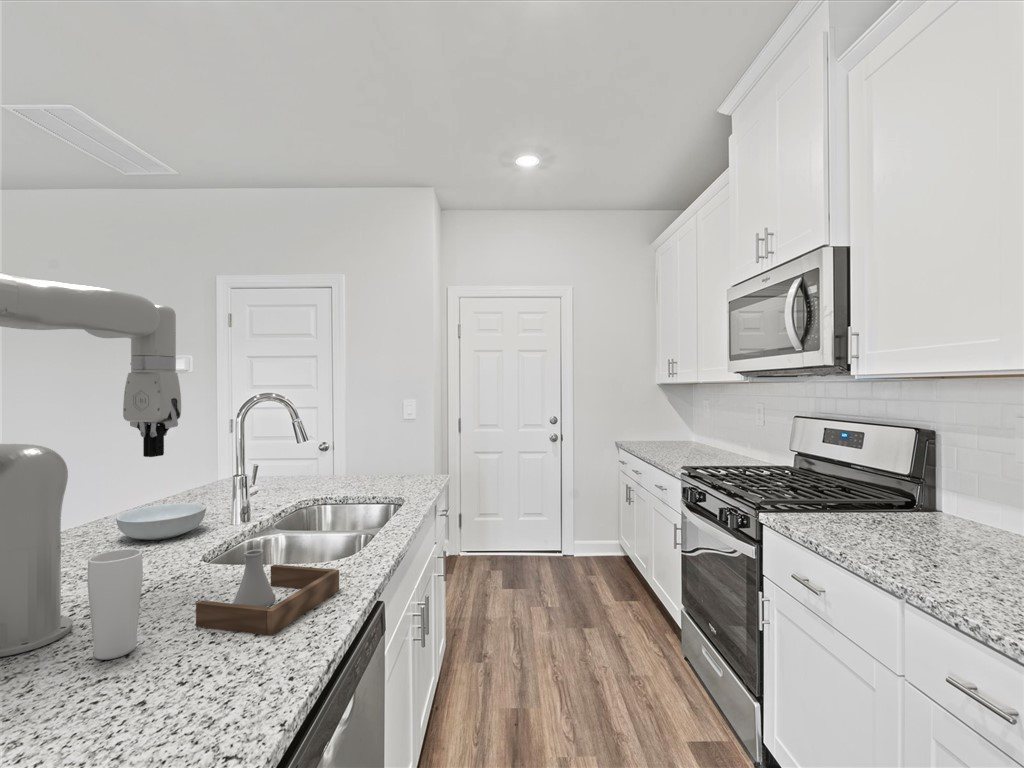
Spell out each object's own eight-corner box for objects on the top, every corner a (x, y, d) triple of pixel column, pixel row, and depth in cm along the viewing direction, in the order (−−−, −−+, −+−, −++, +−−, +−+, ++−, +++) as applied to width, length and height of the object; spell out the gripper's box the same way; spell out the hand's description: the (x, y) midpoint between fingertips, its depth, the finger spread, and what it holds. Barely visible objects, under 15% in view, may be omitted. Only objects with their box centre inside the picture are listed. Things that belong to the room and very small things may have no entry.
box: (272, 635, 85) (272, 611, 85) (195, 626, 89) (195, 603, 89) (339, 589, 105) (339, 569, 105) (274, 583, 108) (274, 564, 108)
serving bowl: (95, 544, 137) (95, 518, 137) (166, 524, 157) (166, 501, 158) (159, 549, 132) (159, 522, 132) (223, 527, 152) (223, 504, 152)
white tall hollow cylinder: (135, 637, 85) (135, 545, 85) (148, 650, 80) (148, 553, 81) (82, 654, 79) (82, 556, 80) (93, 669, 75) (94, 565, 75)
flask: (260, 614, 93) (260, 558, 94) (223, 612, 94) (223, 557, 94) (282, 598, 101) (282, 546, 101) (248, 596, 101) (248, 545, 102)
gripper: (106, 365, 104) (106, 457, 103) (168, 364, 100) (168, 459, 100) (141, 367, 111) (140, 453, 111) (199, 366, 108) (199, 454, 107)
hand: (153, 455), depth 105 cm, fingers closed
